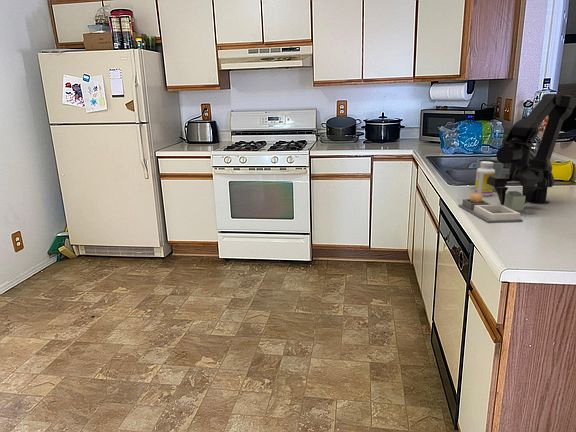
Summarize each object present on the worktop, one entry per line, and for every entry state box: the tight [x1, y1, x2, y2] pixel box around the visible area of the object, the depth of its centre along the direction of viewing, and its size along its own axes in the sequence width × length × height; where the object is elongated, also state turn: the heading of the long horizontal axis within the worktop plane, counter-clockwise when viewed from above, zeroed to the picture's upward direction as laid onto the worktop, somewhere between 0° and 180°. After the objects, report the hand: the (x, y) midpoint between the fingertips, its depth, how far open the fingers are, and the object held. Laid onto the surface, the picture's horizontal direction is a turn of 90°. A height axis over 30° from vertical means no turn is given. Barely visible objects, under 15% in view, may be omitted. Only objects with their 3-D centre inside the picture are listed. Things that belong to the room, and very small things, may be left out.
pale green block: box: [503, 190, 526, 211], centre depth 156 cm, size 6×4×6 cm
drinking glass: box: [476, 158, 505, 192], centre depth 182 cm, size 10×10×12 cm
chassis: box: [457, 198, 523, 224], centre depth 149 cm, size 20×12×3 cm, turn 6°
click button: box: [469, 192, 484, 203], centre depth 154 cm, size 4×4×3 cm
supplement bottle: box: [473, 161, 495, 197], centre depth 174 cm, size 7×7×13 cm
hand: (512, 204), depth 156 cm, fingers open, 8 cm apart
